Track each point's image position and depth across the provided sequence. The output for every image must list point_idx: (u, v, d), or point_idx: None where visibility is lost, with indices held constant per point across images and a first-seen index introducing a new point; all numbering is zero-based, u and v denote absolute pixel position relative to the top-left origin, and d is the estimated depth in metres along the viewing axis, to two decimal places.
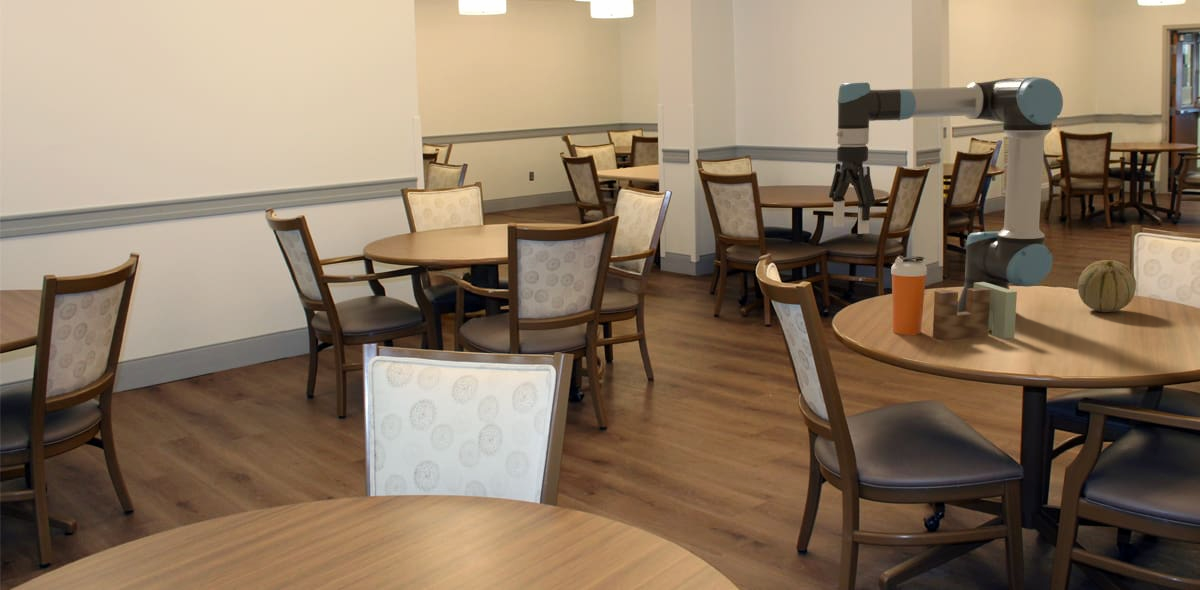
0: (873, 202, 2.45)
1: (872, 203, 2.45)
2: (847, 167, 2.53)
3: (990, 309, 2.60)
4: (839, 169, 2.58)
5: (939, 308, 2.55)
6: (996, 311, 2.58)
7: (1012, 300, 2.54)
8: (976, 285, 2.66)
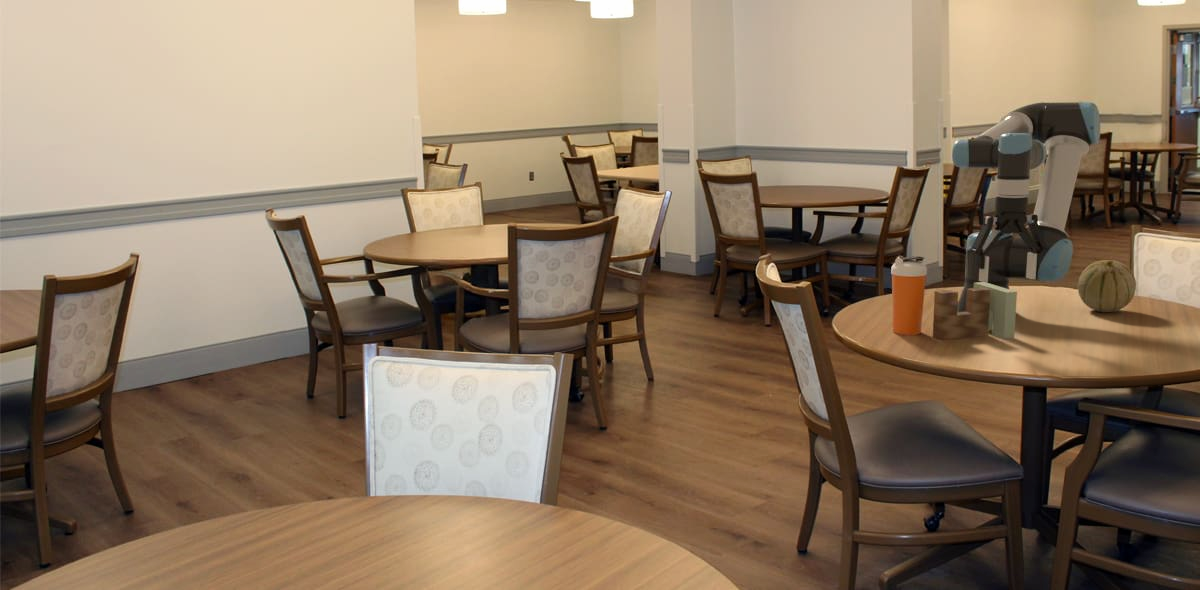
0: (975, 251, 2.50)
1: (974, 252, 2.51)
2: None
3: (990, 309, 2.60)
4: None
5: (939, 308, 2.55)
6: (996, 311, 2.58)
7: (1012, 300, 2.54)
8: (976, 285, 2.66)
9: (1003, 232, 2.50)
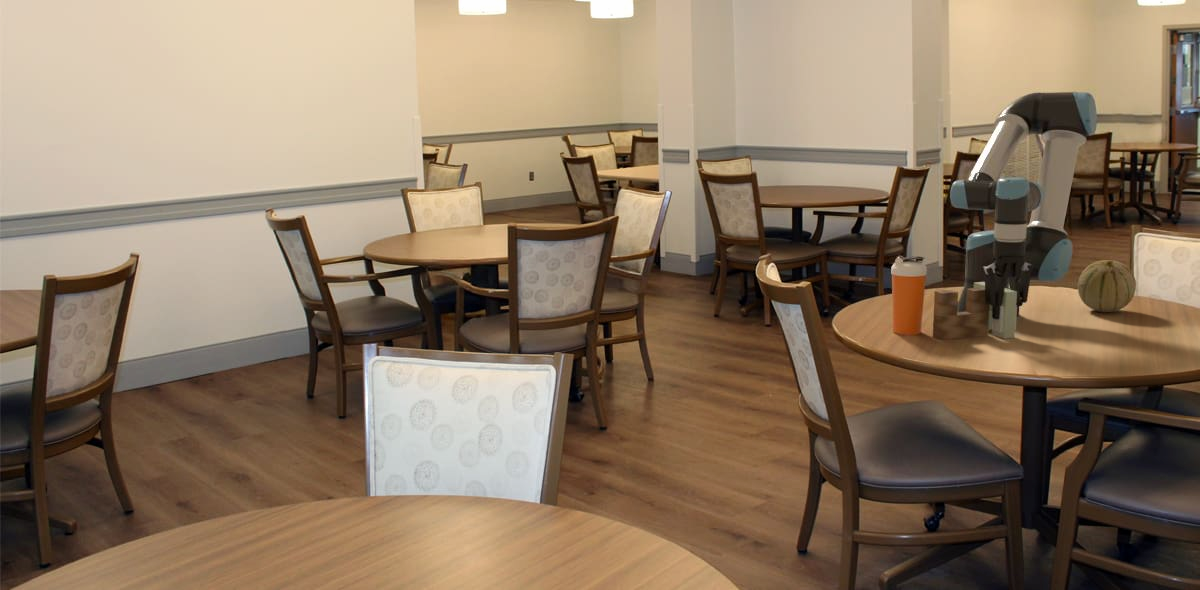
0: (990, 303, 2.54)
1: None
2: None
3: (990, 309, 2.60)
4: (1022, 267, 2.56)
5: (939, 308, 2.55)
6: None
7: (1012, 300, 2.54)
8: (976, 285, 2.66)
9: (1006, 278, 2.53)
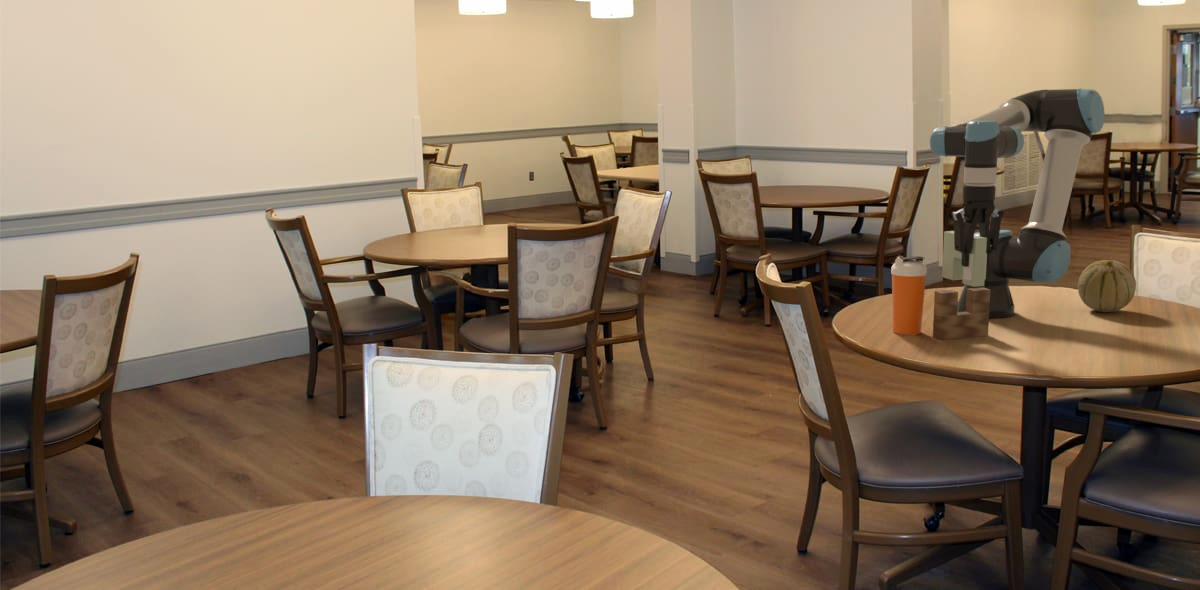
0: (959, 250, 2.48)
1: (958, 250, 2.48)
2: None
3: (960, 257, 2.54)
4: None
5: (939, 308, 2.55)
6: None
7: (982, 246, 2.48)
8: (946, 234, 2.59)
9: (975, 223, 2.47)
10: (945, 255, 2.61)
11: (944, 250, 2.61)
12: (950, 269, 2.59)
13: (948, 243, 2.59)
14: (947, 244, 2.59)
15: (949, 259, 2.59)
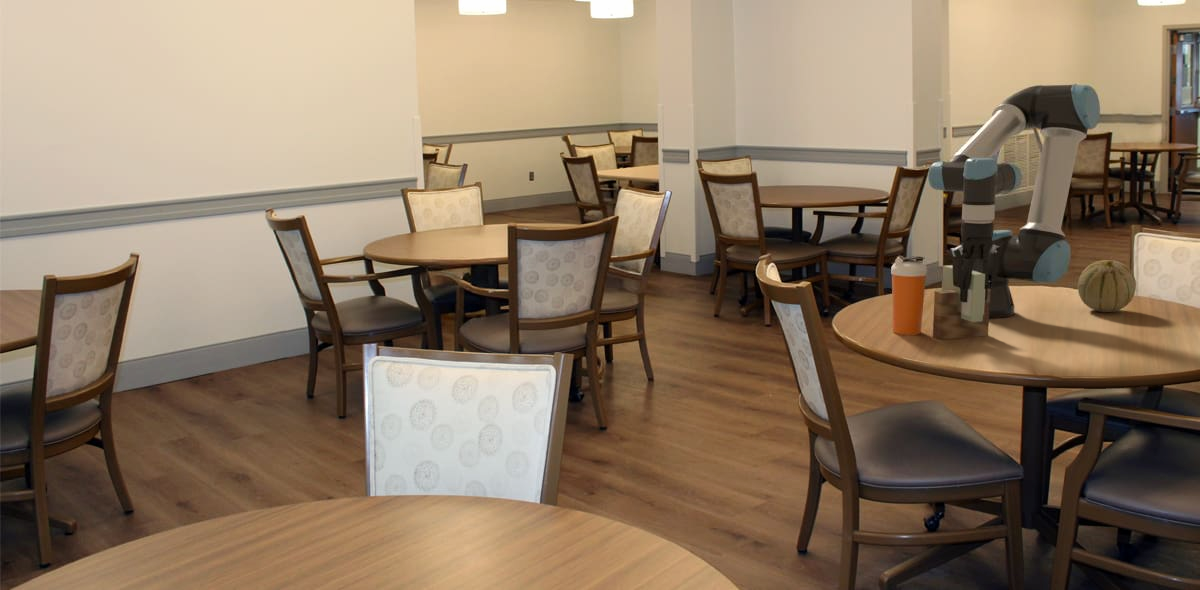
0: (957, 286, 2.50)
1: (957, 286, 2.50)
2: None
3: (958, 292, 2.56)
4: (991, 249, 2.52)
5: (939, 308, 2.55)
6: None
7: (980, 282, 2.50)
8: (945, 268, 2.61)
9: (973, 260, 2.49)
10: (943, 290, 2.63)
11: (943, 284, 2.63)
12: None
13: (946, 278, 2.61)
14: (946, 279, 2.61)
15: None
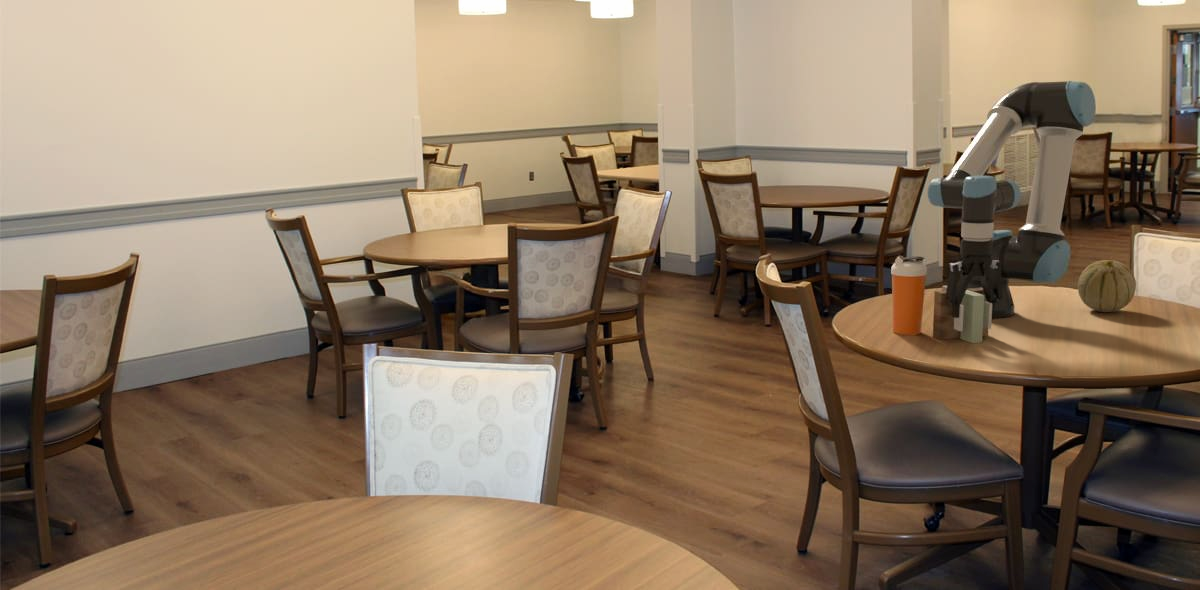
0: (949, 301, 2.50)
1: (949, 301, 2.51)
2: None
3: None
4: None
5: (939, 308, 2.55)
6: (964, 315, 2.55)
7: (979, 304, 2.51)
8: (944, 288, 2.62)
9: (970, 277, 2.49)
10: None
11: None
12: None
13: None
14: None
15: None
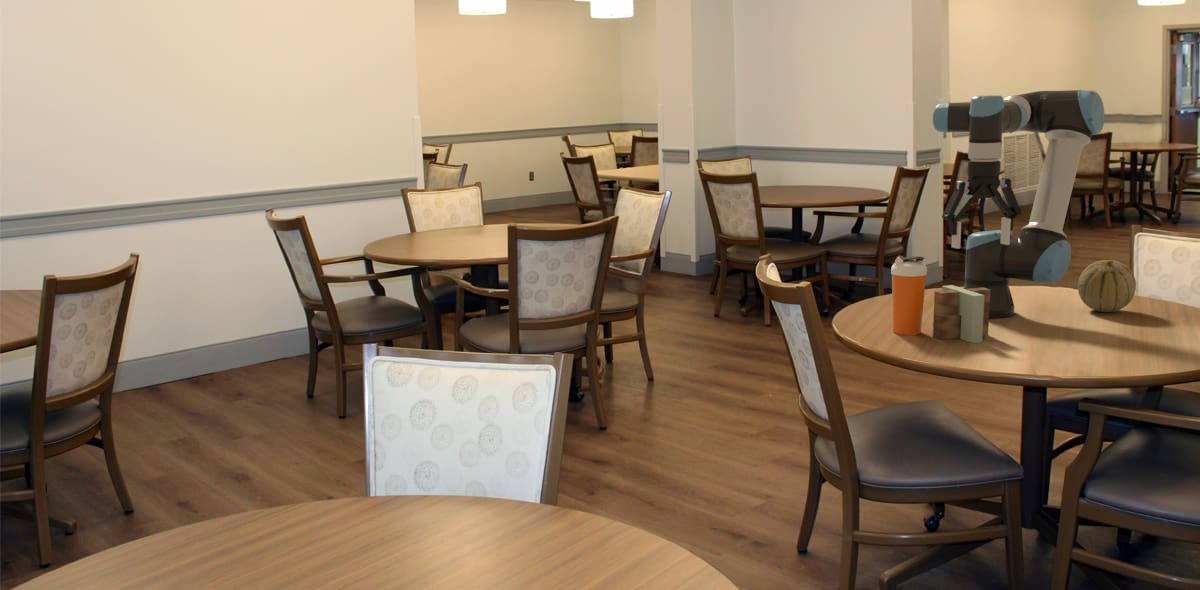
0: (946, 217, 2.46)
1: (945, 217, 2.46)
2: None
3: (958, 313, 2.57)
4: None
5: (939, 308, 2.55)
6: (964, 315, 2.55)
7: (979, 304, 2.51)
8: (944, 288, 2.62)
9: (975, 197, 2.45)
10: None
11: None
12: None
13: None
14: None
15: None
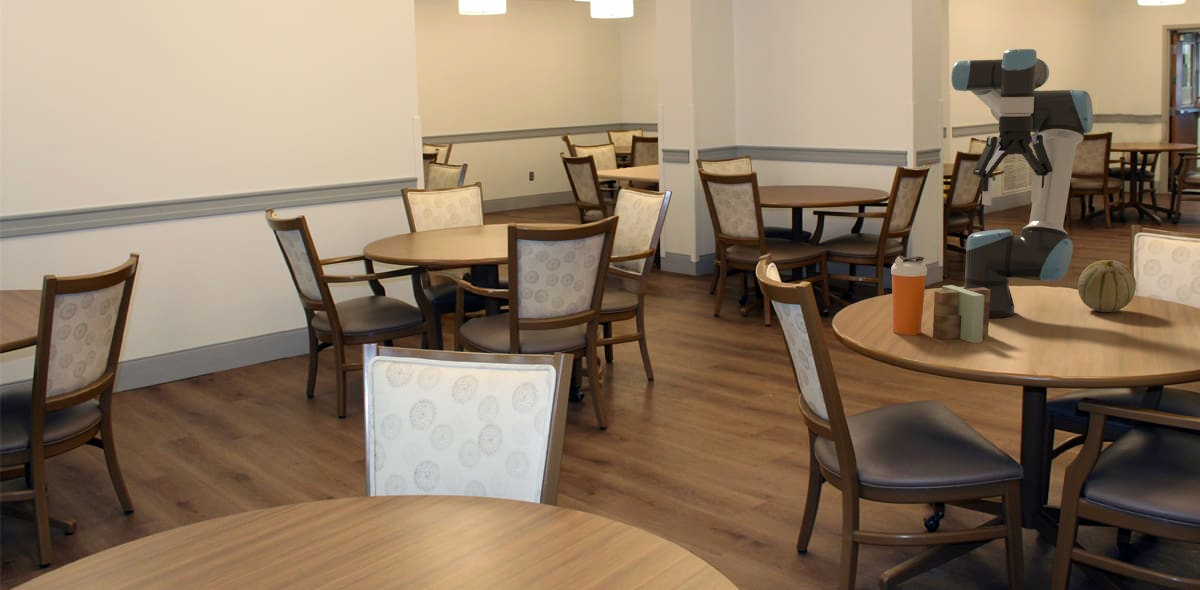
0: (978, 172, 2.42)
1: (977, 173, 2.42)
2: None
3: (958, 313, 2.57)
4: (1032, 140, 2.46)
5: (939, 308, 2.55)
6: (964, 315, 2.55)
7: (979, 304, 2.51)
8: (944, 288, 2.62)
9: (1006, 152, 2.42)
10: None
11: None
12: None
13: None
14: None
15: None
